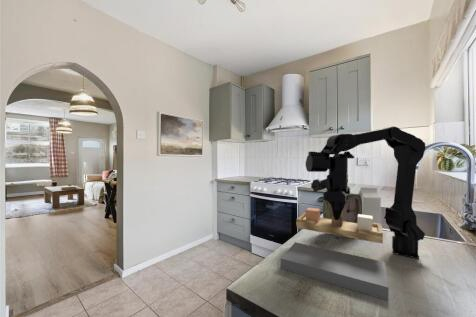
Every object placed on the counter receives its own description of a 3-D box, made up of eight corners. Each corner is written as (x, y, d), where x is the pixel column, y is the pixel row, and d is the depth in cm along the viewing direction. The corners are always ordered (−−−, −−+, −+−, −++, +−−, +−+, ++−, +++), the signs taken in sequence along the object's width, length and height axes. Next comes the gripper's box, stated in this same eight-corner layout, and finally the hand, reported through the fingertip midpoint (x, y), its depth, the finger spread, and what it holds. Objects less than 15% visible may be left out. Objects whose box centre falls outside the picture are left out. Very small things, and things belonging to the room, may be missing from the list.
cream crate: (372, 228, 68) (372, 215, 68) (372, 231, 65) (372, 218, 65) (358, 225, 70) (358, 213, 70) (357, 229, 67) (357, 216, 67)
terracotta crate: (320, 219, 77) (320, 208, 77) (317, 222, 73) (317, 211, 73) (308, 218, 79) (308, 207, 79) (305, 220, 75) (306, 209, 75)
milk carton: (380, 231, 95) (381, 189, 95) (362, 230, 96) (363, 188, 96) (373, 226, 102) (374, 186, 101) (357, 225, 103) (357, 186, 103)
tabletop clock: (338, 240, 84) (339, 177, 84) (320, 233, 92) (321, 175, 92) (361, 234, 91) (362, 176, 90) (343, 228, 99) (343, 174, 98)
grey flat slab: (384, 272, 61) (384, 262, 61) (388, 300, 49) (388, 287, 49) (294, 250, 75) (295, 242, 75) (280, 268, 63) (281, 258, 63)
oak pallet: (381, 233, 70) (381, 205, 69) (382, 244, 61) (383, 212, 61) (303, 220, 83) (304, 197, 83) (296, 228, 74) (296, 201, 74)
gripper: (318, 169, 84) (318, 208, 84) (306, 172, 68) (306, 221, 68) (350, 170, 78) (350, 213, 78) (345, 174, 62) (344, 227, 62)
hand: (337, 217), depth 72 cm, fingers closed on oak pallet, 4 cm apart
